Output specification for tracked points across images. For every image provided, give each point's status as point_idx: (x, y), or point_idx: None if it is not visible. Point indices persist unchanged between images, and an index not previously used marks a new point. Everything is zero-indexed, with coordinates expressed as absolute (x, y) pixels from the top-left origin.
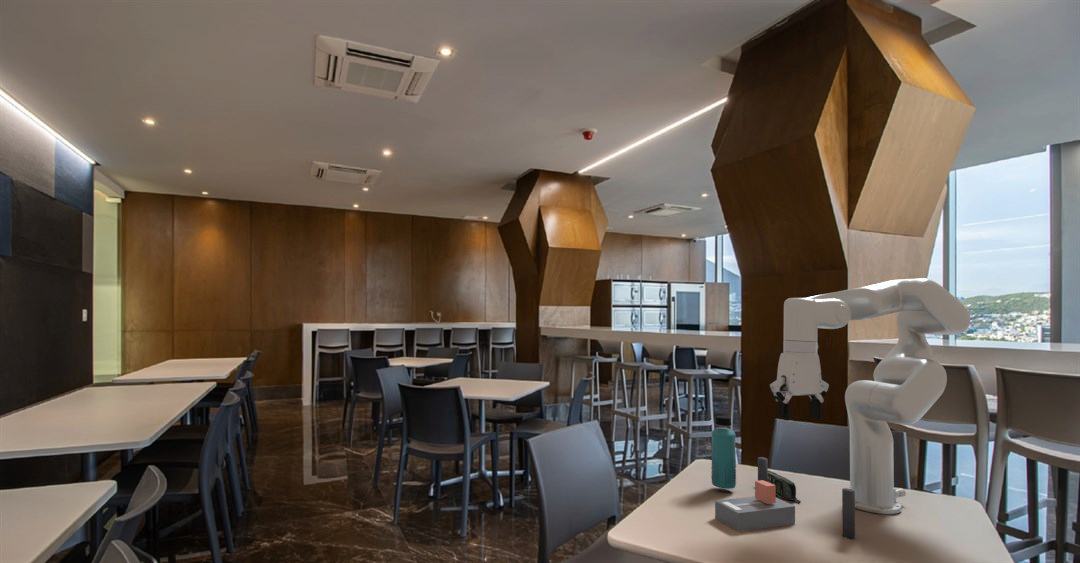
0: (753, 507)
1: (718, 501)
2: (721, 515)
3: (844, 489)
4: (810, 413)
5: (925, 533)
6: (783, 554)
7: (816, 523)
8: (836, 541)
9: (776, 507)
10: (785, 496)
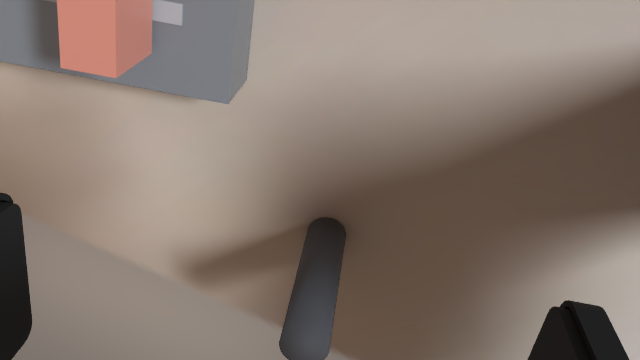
0: (27, 28)
1: None
2: None
3: (294, 335)
4: (560, 355)
5: None
6: None
7: (334, 115)
8: (250, 233)
9: (132, 75)
10: None
